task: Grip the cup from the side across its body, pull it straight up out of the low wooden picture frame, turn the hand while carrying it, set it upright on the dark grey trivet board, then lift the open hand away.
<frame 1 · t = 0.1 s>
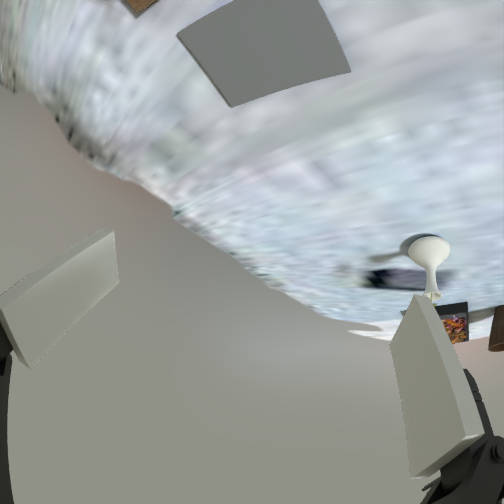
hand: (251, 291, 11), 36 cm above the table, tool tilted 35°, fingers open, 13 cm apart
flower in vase: (427, 245, 60), on the table
plant pot: (502, 307, 74), on the table
food platter: (443, 321, 99), on the table
trivet board: (263, 43, 31), on the table
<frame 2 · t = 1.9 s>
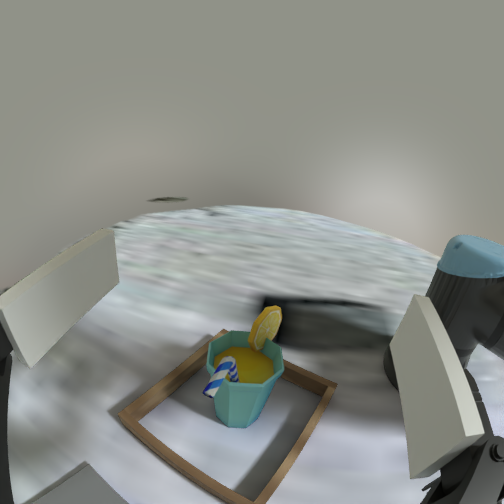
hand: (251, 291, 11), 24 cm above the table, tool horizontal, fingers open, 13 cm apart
cup: (234, 417, 30), resting in wooden picture frame
wooden picture frame: (234, 416, 29), on the table
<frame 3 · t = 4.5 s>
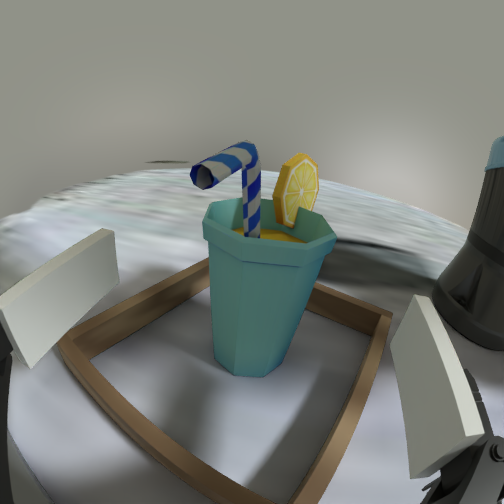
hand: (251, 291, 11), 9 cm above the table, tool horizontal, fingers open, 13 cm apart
cup: (243, 360, 20), resting in wooden picture frame
wooden picture frame: (243, 359, 20), on the table
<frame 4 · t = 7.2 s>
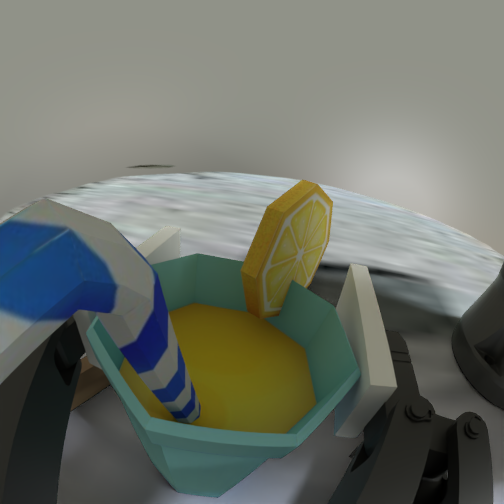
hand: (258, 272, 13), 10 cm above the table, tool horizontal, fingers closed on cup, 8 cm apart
cup: (193, 470, 11), resting in wooden picture frame, touching gripper
wooden picture frame: (193, 470, 11), on the table
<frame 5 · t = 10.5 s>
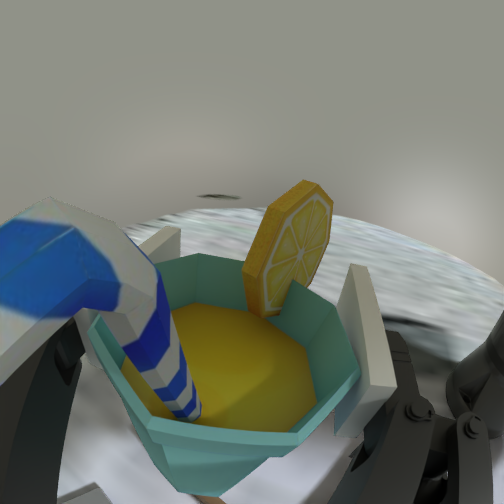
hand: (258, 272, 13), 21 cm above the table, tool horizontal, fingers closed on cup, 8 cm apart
cup: (193, 469, 11), point 11 cm above the table, touching gripper
when the fingers open (12 cm above the table, at t = 13.9 s): cup drops 2 cm, resting on trivet board.
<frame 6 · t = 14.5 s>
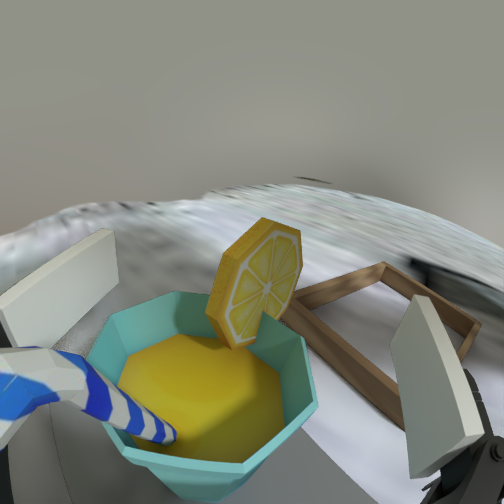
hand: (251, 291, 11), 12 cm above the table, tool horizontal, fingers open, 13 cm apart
cup: (195, 478, 12), point 1 cm above the table, touching trivet board
wooden picture frame: (392, 331, 28), on the table
trivet board: (194, 481, 12), on the table
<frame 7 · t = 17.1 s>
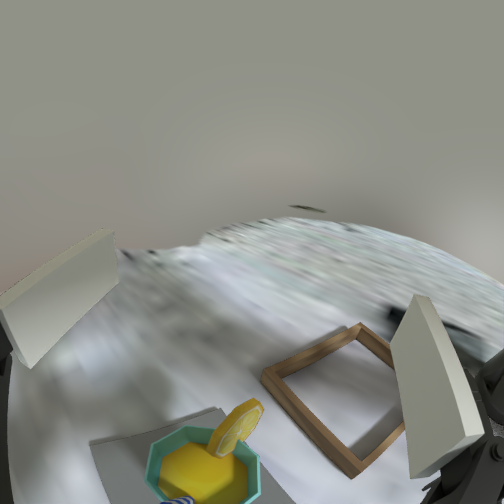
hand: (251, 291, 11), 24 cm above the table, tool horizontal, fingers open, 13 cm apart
wooden picture frame: (356, 393, 33), on the table
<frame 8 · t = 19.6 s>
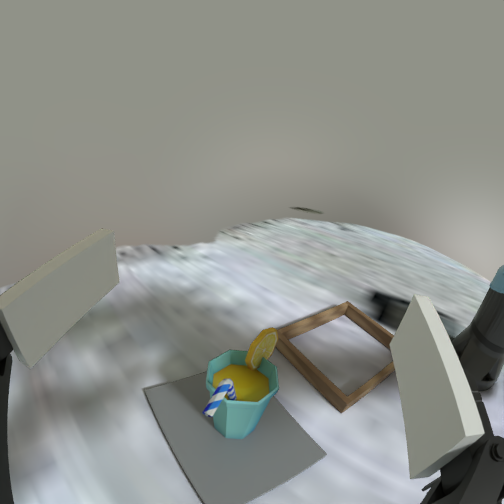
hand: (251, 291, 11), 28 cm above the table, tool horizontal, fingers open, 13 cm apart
cup: (231, 428, 30), point 1 cm above the table, touching trivet board
wooden picture frame: (344, 352, 46), on the table
trivet board: (230, 430, 31), on the table
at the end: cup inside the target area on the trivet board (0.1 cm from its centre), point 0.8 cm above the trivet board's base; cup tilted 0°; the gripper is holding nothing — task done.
